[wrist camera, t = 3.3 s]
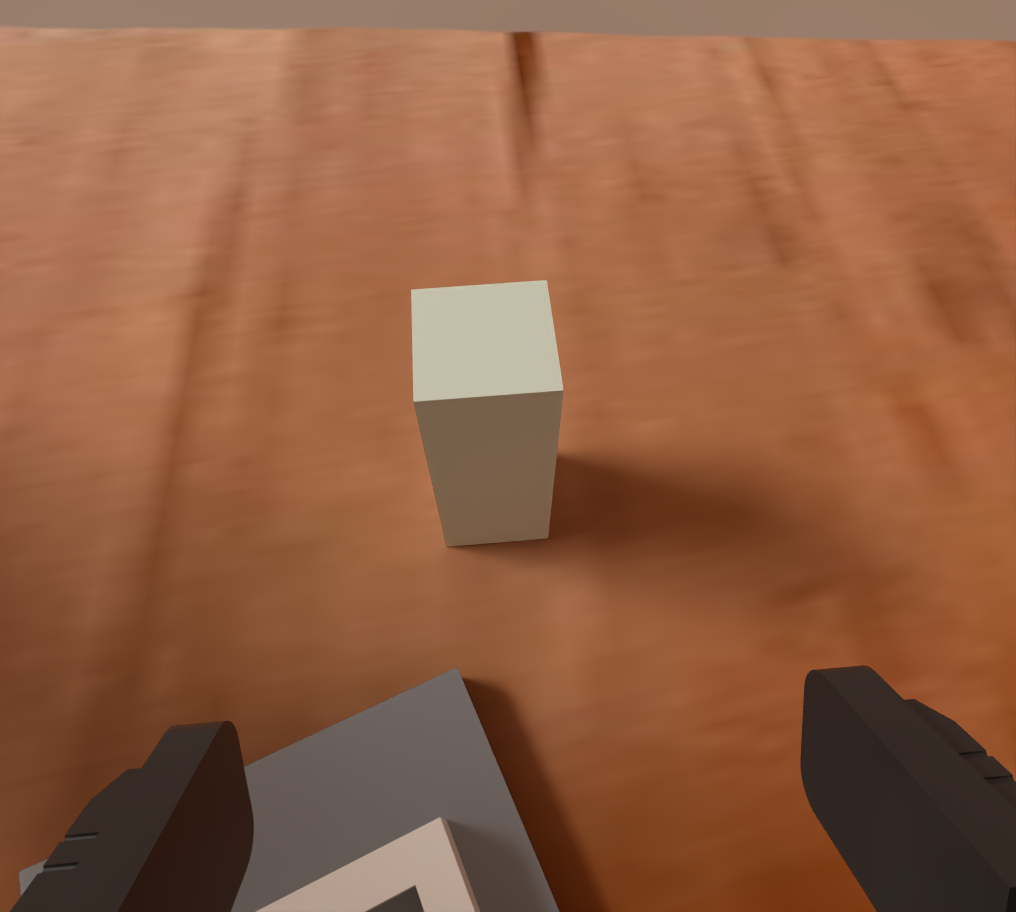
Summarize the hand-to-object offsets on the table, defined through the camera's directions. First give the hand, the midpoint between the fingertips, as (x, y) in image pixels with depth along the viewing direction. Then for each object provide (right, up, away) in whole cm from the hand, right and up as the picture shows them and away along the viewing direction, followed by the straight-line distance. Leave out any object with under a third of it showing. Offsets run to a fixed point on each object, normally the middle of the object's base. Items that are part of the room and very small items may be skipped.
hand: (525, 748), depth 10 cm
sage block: (-1, +2, +18) cm, 18 cm away
